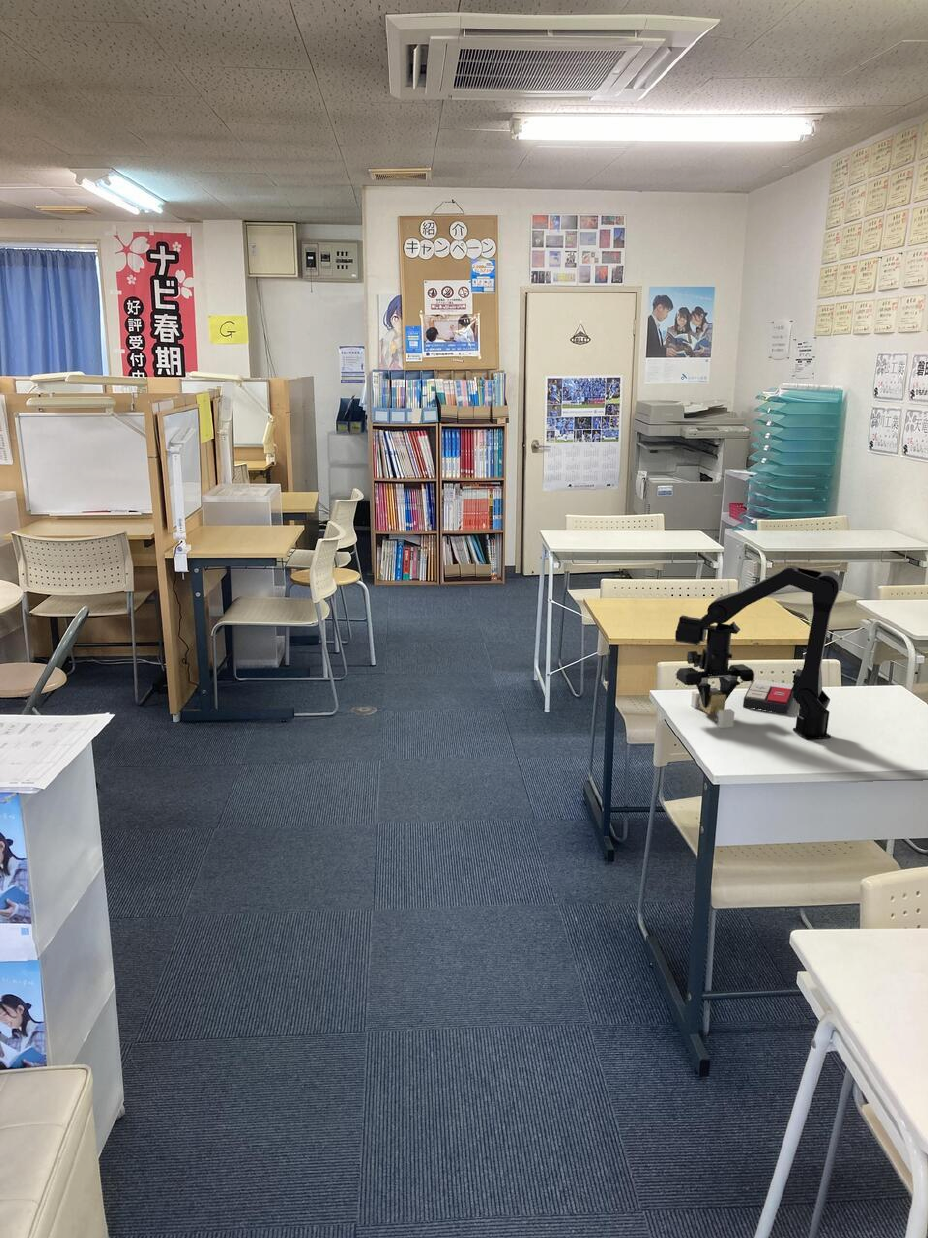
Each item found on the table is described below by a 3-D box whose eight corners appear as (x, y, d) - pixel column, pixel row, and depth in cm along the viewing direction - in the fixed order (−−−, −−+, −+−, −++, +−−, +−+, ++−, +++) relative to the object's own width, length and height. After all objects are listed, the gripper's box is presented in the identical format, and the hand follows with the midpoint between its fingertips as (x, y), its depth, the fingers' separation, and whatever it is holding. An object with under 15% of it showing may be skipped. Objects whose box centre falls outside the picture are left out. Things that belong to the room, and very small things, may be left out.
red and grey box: (743, 695, 240) (753, 676, 252) (742, 710, 241) (752, 691, 254) (788, 702, 235) (795, 682, 248) (786, 718, 236) (794, 697, 249)
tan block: (714, 706, 236) (716, 686, 235) (724, 713, 232) (726, 692, 230) (700, 707, 235) (701, 687, 234) (709, 714, 231) (711, 693, 229)
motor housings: (701, 704, 242) (703, 690, 241) (732, 727, 227) (734, 711, 226) (691, 705, 241) (692, 691, 240) (721, 728, 226) (723, 712, 225)
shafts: (704, 707, 240) (705, 695, 239) (727, 724, 229) (728, 711, 228) (696, 708, 239) (697, 695, 238) (719, 725, 228) (720, 712, 227)
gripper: (735, 636, 239) (729, 693, 243) (668, 640, 235) (664, 698, 239) (758, 649, 229) (752, 708, 233) (689, 653, 224) (684, 713, 228)
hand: (712, 706), depth 233 cm, fingers closed on tan block, 4 cm apart
